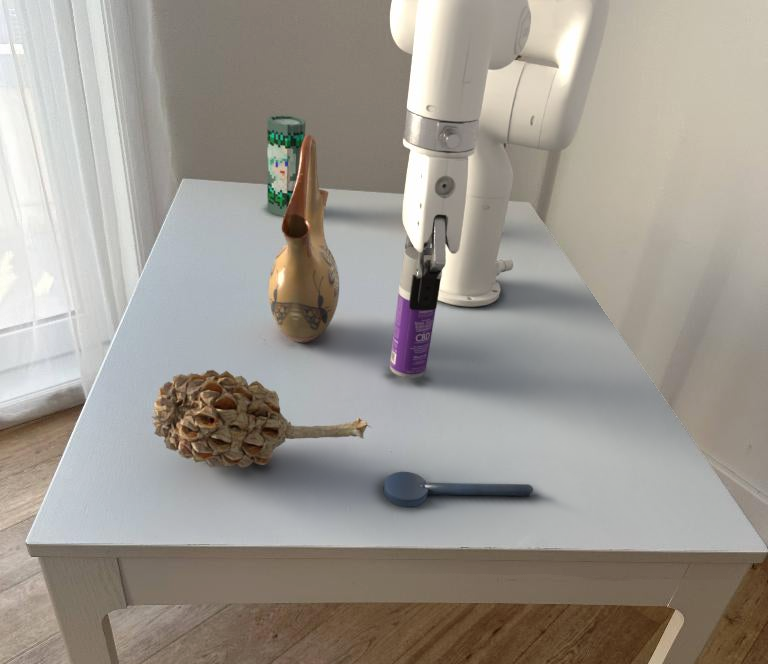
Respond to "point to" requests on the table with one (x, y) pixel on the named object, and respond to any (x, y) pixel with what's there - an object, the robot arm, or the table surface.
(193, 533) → the table surface
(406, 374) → the container
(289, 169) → the can
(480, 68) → the robot arm
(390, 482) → the spoon
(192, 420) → the pine cone
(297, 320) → the ceramic vessel
